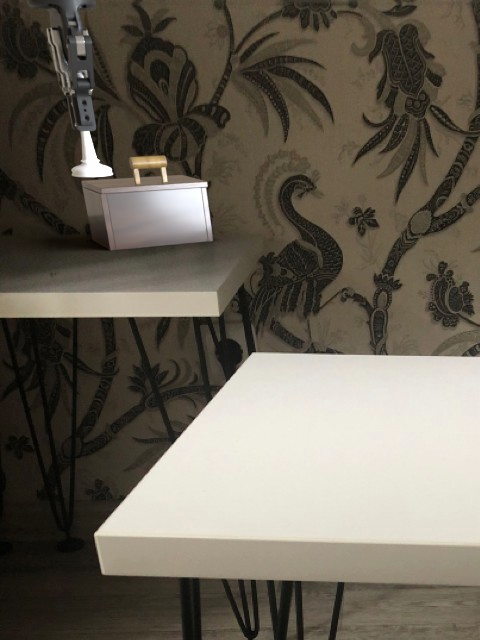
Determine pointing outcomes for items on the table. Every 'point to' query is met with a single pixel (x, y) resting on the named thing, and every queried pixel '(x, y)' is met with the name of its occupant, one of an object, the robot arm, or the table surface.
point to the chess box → (148, 218)
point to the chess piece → (89, 160)
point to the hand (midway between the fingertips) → (84, 129)
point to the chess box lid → (144, 179)
